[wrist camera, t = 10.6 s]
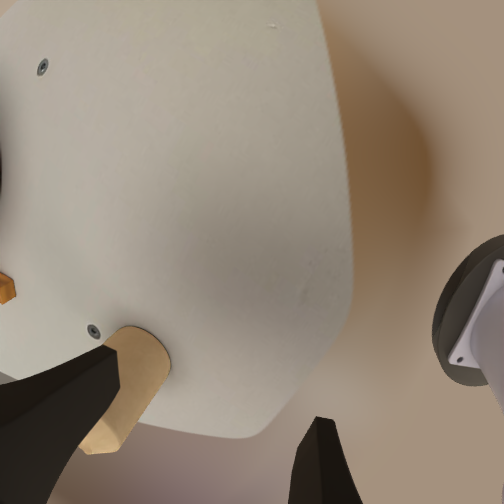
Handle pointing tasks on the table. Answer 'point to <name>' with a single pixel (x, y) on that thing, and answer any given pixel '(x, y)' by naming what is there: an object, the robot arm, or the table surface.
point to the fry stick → (6, 289)
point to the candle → (129, 387)
